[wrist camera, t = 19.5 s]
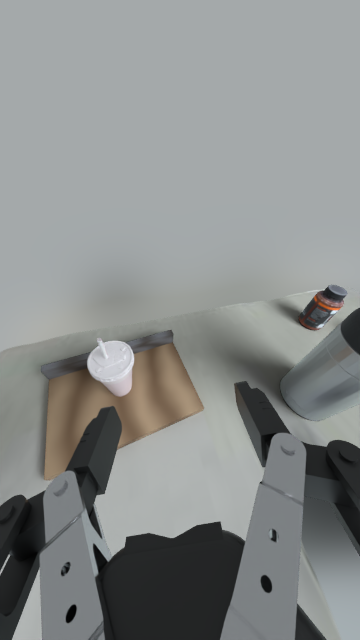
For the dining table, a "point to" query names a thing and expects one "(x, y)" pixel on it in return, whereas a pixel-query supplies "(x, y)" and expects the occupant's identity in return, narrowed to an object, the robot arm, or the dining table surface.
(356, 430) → the dining table surface
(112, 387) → the smoothie
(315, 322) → the supplement bottle
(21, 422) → the dining table surface
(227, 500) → the dining table surface
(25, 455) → the dining table surface
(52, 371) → the tan serving tray
